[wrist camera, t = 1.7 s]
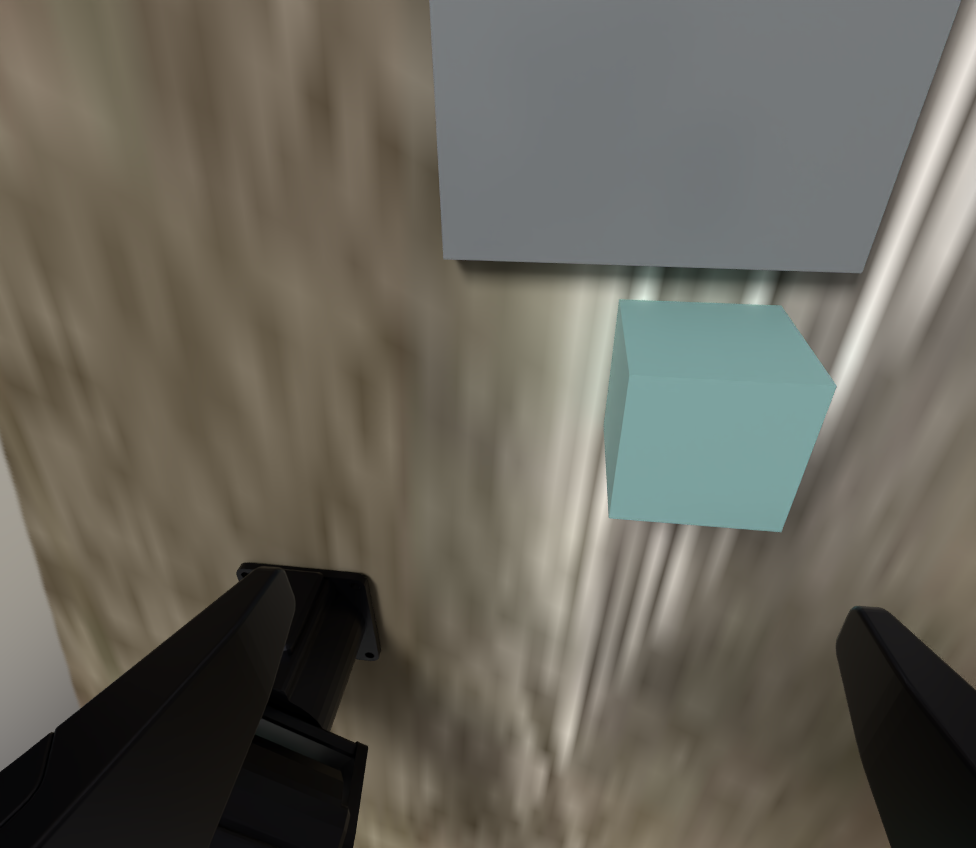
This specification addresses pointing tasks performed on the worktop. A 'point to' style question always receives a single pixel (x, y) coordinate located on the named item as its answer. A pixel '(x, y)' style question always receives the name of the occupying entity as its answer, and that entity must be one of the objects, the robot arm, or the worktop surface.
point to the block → (710, 414)
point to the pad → (677, 127)
